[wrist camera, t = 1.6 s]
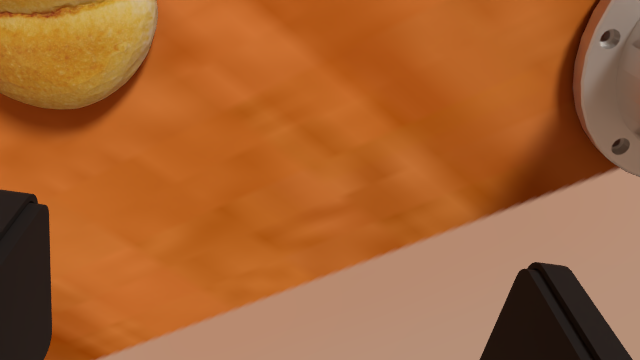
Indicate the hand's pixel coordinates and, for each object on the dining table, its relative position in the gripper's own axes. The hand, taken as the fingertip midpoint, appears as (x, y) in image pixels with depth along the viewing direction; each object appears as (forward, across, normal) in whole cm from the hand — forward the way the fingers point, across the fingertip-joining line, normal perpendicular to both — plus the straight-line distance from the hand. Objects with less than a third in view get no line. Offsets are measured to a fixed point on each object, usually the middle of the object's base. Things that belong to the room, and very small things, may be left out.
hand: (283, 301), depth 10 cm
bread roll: (+18, +10, 0) cm, 21 cm away
